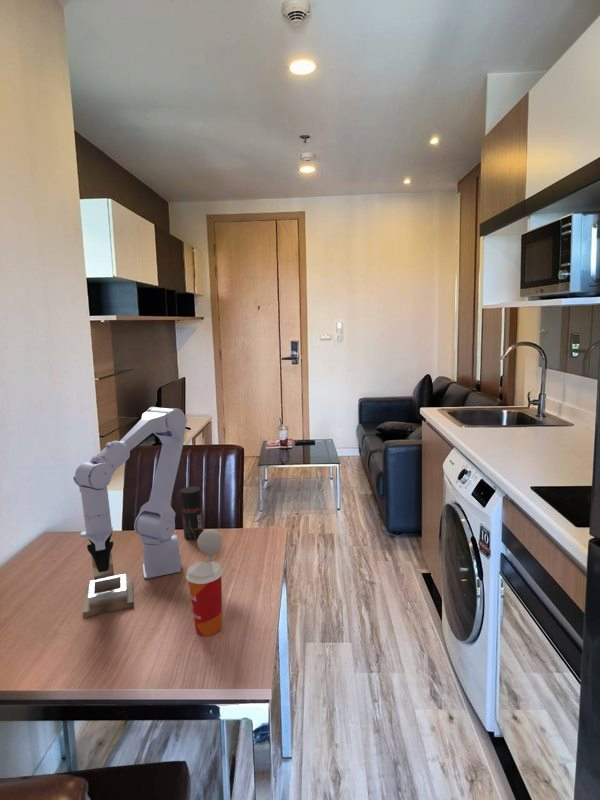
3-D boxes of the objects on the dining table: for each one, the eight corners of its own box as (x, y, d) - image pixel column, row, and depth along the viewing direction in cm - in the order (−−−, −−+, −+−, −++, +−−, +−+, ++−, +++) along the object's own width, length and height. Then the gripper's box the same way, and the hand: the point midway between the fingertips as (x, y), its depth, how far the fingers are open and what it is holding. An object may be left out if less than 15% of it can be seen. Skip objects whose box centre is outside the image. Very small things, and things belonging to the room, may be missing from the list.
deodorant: (199, 540, 154) (195, 493, 151) (181, 539, 155) (176, 492, 153) (206, 532, 160) (203, 486, 157) (189, 531, 161) (185, 486, 158)
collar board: (132, 582, 131) (130, 569, 130) (133, 606, 119) (132, 592, 119) (86, 591, 127) (84, 578, 126) (83, 617, 116) (81, 602, 115)
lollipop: (213, 595, 122) (209, 537, 120) (195, 589, 126) (191, 532, 123) (230, 584, 128) (226, 527, 125) (212, 578, 131) (208, 523, 128)
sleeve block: (113, 567, 124) (110, 544, 123) (114, 575, 120) (111, 552, 119) (94, 571, 123) (91, 548, 122) (94, 580, 119) (91, 556, 118)
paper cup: (195, 618, 113) (190, 560, 111) (229, 617, 113) (225, 559, 111) (186, 640, 106) (181, 578, 103) (223, 639, 105) (218, 577, 103)
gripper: (78, 505, 124) (85, 557, 126) (77, 527, 111) (85, 584, 113) (109, 500, 127) (115, 551, 129) (112, 520, 113) (118, 577, 116)
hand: (103, 566), depth 121 cm, fingers closed on sleeve block, 4 cm apart
